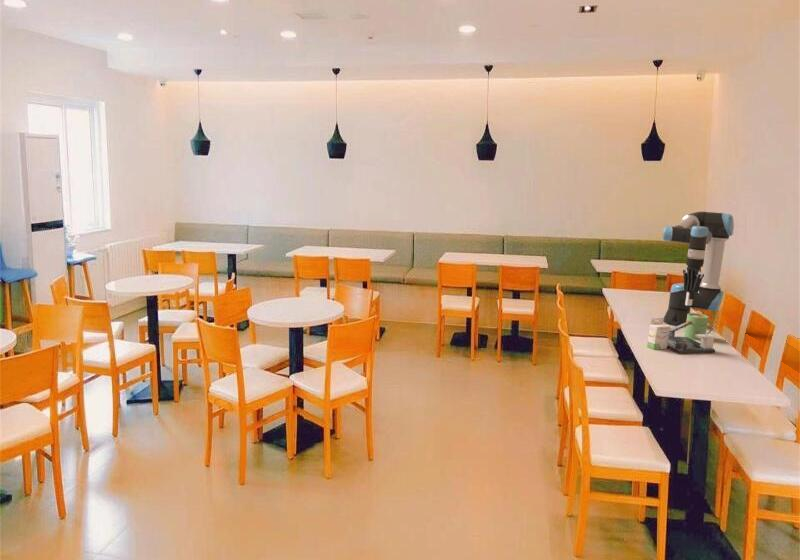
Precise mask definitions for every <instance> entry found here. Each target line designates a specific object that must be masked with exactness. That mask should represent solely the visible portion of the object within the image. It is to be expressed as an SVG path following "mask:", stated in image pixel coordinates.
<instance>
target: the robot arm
mask: <svg viewBox="0 0 800 560" xmlns="http://www.w3.org/2000/svg"><path fill="white" fill-rule="evenodd" d="M734 228H735V224H734V216H733V215H732V214H730V213H726V212H715V211H714V212H712V211H696V212H692V213H689V214H686V215H685V216H684V217H682V218H681V221H680V222H678V223H677V224H675V225H674V226H672V225H670V226H669V225H666V226H665V227H663V231H662V239H663V240H664V241H665V242H666V241H667V242H674V243H675V242H676V243H682V244H683V243H685V244H688V250H687V258H686V263H685V265H686V266H687V267H686V269H683V270H682V273H683V282H680V283H674V284H672V285H671V287H670V292H669V300H668V308H667V311H666V312H665V315H664V316H663V318H664V320H663V323H664V324H666V325H672V326H674V327H676V326H679V325H681V324H683V323H685V322H686V321H687V314H688V313H691V309H697V310H698V309H699V310H704V311H710V312H716V311H718V310H719V308H720V306H721V305H722V300H723V297H724V291H723V290H722V287H721V285H719V282H720V278H721V277H720V276H721V270H722V265H723V258H724V257H723V256H724V251H725V245H726V241H728V240H729V239H730V237H731V236H733V235H734V230H735V229H734ZM702 268H703V271H702Z"/></svg>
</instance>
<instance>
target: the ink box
mask: <svg viewBox="0 0 800 560" xmlns="http://www.w3.org/2000/svg"><path fill="white" fill-rule="evenodd" d="M663 320H664V317H654V318H653V317H652V318H651V321H650V324H649V330H648V338H647V339H648V340H647V344H646V347H647V348H650V349H652V350H662V349H664V350H665V349H668V348H667V344H668V337H669V330H670V329H671V326H670V324H667V323H664V322H663Z"/></svg>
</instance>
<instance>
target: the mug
mask: <svg viewBox="0 0 800 560" xmlns="http://www.w3.org/2000/svg"><path fill="white" fill-rule="evenodd" d="M687 321H693V323H692V324H690V325H688V326H686V327H684V328H685V329H684V336H683V337H688V338H690V339H692V340H694V341H701V338H698V337H696V336H695V335H697V334H710V333H711V332H712V330H713V326H712V325H713V324H712V323H711V322H712V321H710V320H709V316H708V315H706V314H703V313H699V312H698V313H696V312H690V313H688V314H687ZM687 321H686V322H687ZM708 323H709V325H710V330H709V331H708V332H707V329H708Z"/></svg>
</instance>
